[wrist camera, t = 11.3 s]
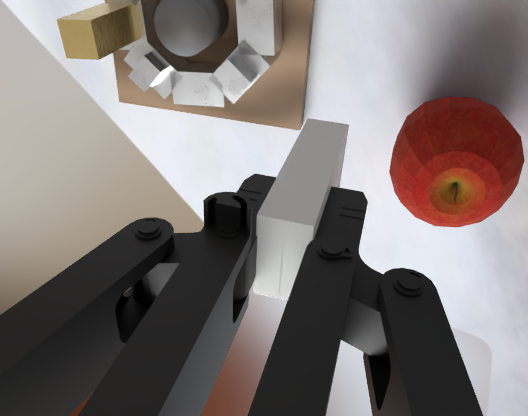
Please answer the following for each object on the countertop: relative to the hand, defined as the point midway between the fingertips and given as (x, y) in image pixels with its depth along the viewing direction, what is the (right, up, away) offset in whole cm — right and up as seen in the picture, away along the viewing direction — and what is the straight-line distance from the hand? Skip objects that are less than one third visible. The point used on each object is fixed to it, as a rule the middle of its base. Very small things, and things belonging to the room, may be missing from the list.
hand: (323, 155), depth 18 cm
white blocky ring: (-8, +16, +27) cm, 32 cm away
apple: (+15, +6, +28) cm, 32 cm away
